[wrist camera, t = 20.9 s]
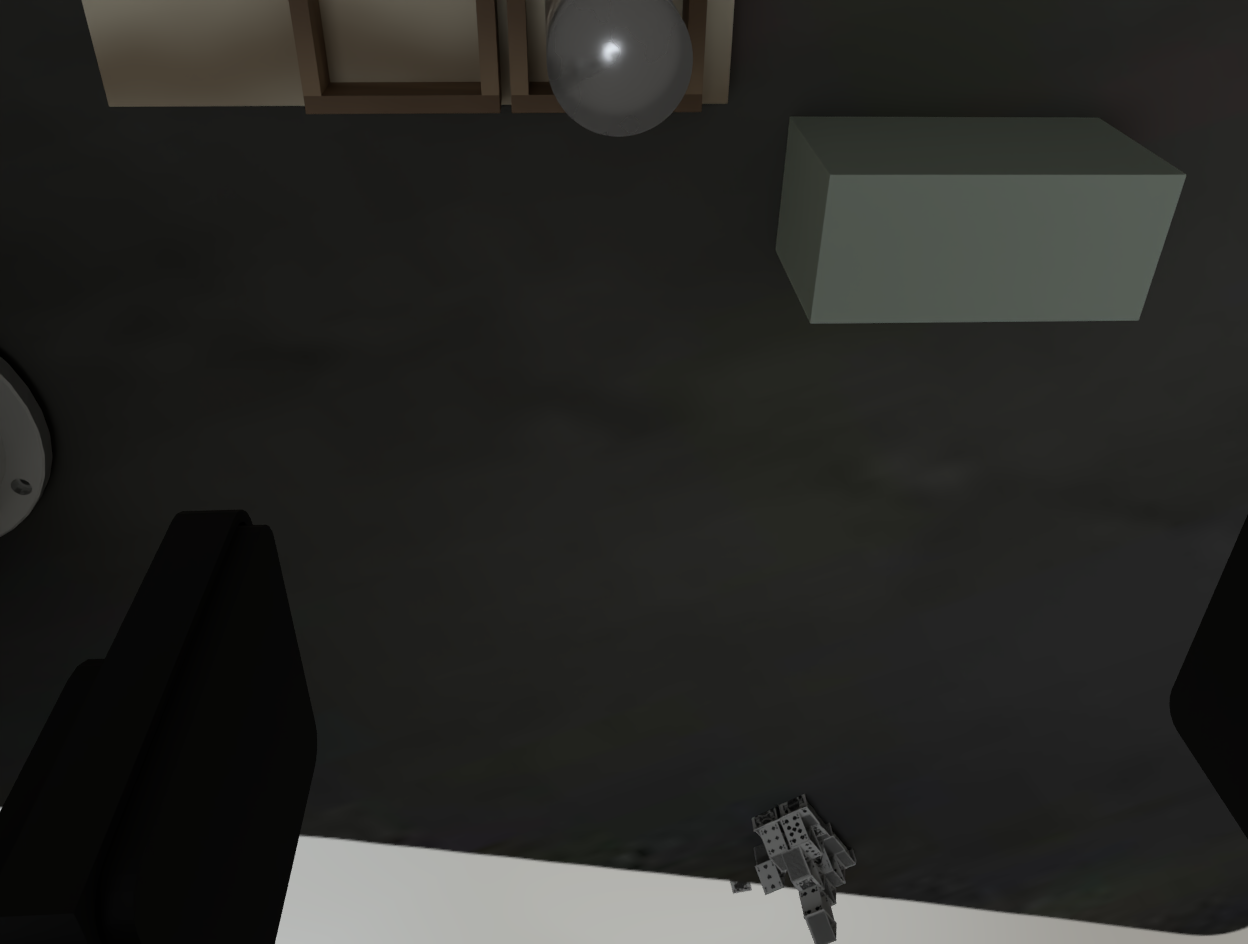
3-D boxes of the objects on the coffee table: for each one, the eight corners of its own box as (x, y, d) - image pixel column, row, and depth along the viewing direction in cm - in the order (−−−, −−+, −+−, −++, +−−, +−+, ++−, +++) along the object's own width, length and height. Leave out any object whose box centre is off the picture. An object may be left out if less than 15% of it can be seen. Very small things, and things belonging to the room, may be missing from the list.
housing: (1061, 247, 45) (1138, 320, 39) (774, 249, 44) (810, 323, 38) (1097, 116, 42) (1186, 174, 36) (789, 115, 41) (830, 174, 35)
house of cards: (668, 827, 65) (681, 942, 59) (792, 773, 63) (819, 886, 57) (736, 896, 70) (755, 1009, 64) (854, 847, 68) (885, 960, 61)
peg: (659, 61, 37) (689, 136, 30) (546, 62, 37) (548, 137, 30) (662, -64, 35) (696, -18, 28) (542, -64, 35) (543, -17, 27)
